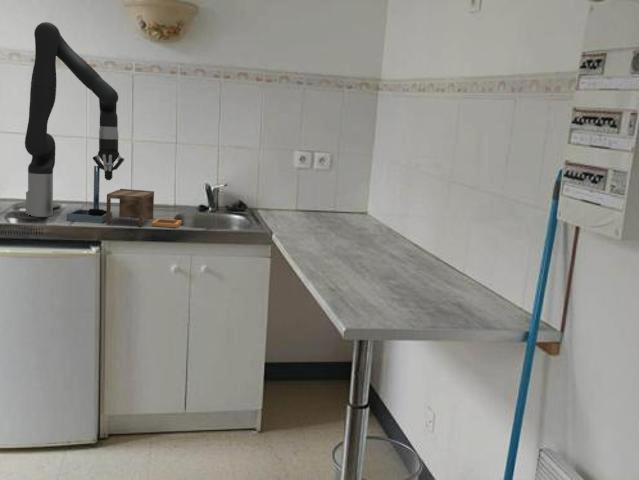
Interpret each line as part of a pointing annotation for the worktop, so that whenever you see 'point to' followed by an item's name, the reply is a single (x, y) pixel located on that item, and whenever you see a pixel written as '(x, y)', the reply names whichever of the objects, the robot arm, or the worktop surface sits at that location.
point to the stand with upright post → (83, 214)
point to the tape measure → (96, 212)
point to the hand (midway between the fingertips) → (108, 179)
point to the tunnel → (132, 204)
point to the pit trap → (166, 223)
